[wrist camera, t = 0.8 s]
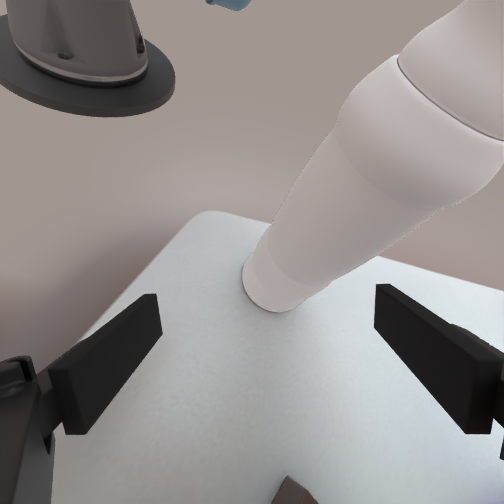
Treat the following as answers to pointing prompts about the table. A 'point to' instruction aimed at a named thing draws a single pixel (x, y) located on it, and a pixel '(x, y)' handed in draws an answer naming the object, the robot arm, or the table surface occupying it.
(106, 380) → the robot arm
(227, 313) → the table surface
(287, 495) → the button base
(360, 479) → the table surface
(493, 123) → the water bottle
